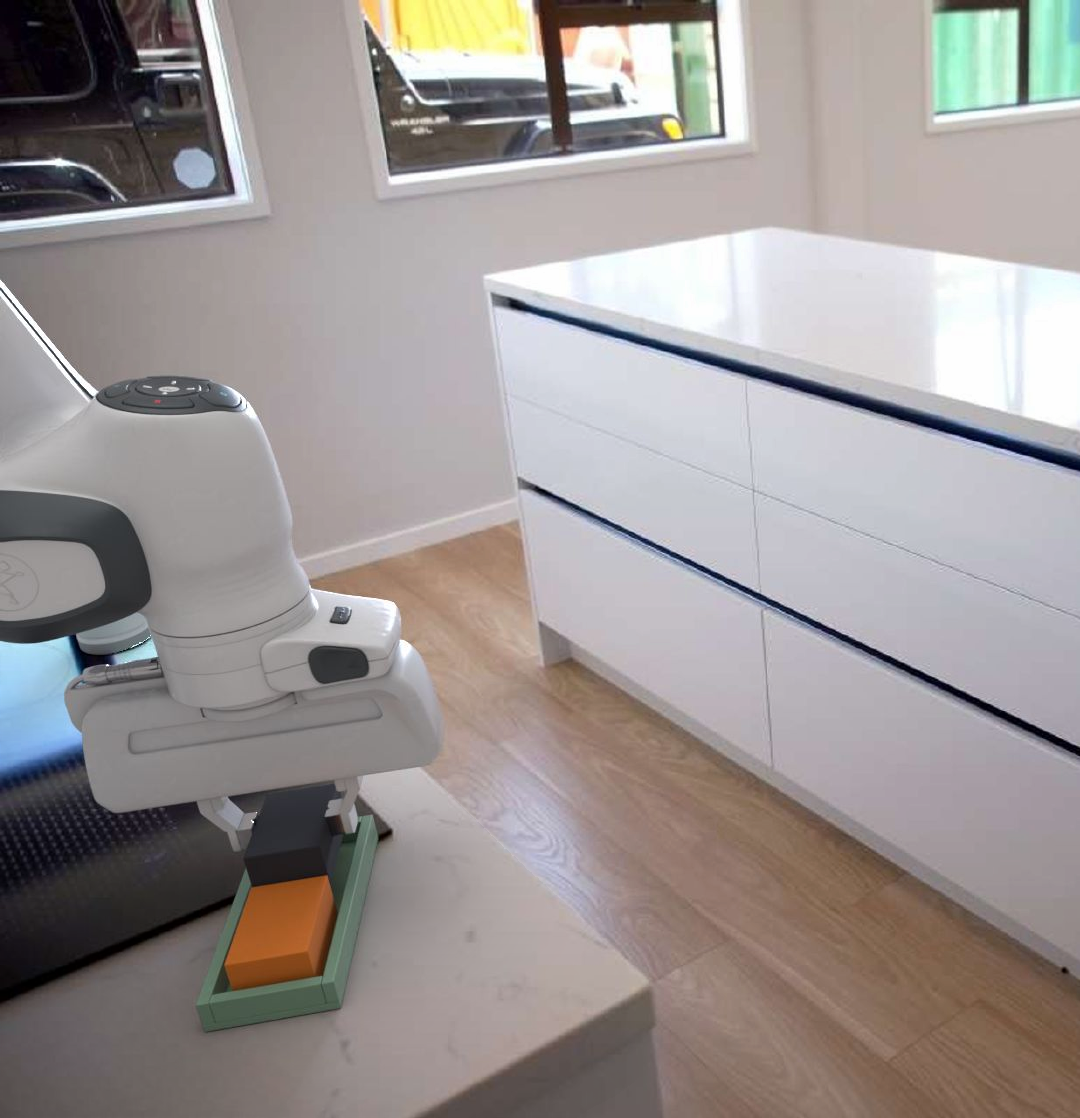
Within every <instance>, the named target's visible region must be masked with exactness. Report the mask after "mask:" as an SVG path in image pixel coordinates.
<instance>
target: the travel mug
mask: <svg viewBox="0 0 1080 1118" xmlns="http://www.w3.org/2000/svg"><path fill="white" fill-rule="evenodd" d="M150 635H151V633H150V630H149V627H148V624H147V621H146V619H145V617H144V616H143V615H141V614H139V613H134V614H132V615H130V616H128V617H126V618H123V619H121V620H118V621H116V622H113V623H110V624H107V625H104V626H101V627H98V628H95V629H91V630H88V631H85V632H81V633H78V634H75V636H76V640H77V643H78V646H79V648H80V650H81V651H82V652H84V653H86V654H89V655H94V656H106V655H113V654H112V653H114V654H118V653H117V652H119V651H122V652H124V651H123V650H125V649H128V648H131V647H132V646H133V645H136V644H139V642H143V641H144V640H146V639H147V638H148V637H150ZM150 638H151V637H150ZM119 653H120V652H119Z"/></svg>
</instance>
